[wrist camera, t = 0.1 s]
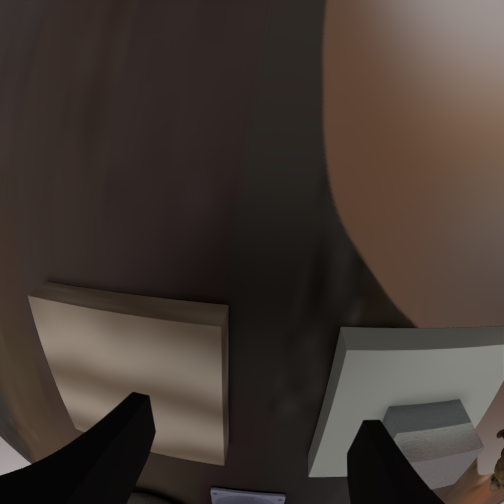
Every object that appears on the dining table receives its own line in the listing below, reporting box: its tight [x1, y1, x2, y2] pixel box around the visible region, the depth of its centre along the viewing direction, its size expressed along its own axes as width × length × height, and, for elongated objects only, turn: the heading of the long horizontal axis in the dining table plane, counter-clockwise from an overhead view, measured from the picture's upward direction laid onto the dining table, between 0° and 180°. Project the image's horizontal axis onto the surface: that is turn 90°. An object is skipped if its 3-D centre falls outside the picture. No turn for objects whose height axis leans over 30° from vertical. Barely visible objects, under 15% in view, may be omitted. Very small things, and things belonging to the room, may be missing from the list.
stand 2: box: [308, 326, 504, 477], centre depth 20 cm, size 14×14×2 cm
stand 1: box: [28, 282, 229, 465], centre depth 21 cm, size 14×14×2 cm
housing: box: [382, 399, 484, 489], centre depth 16 cm, size 4×6×5 cm
